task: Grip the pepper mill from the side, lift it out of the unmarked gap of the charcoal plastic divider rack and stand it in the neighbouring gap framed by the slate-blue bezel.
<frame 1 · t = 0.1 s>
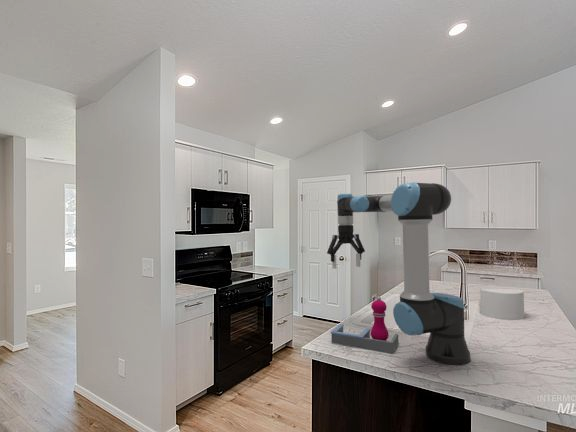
hand: (346, 267, 167), 28 cm above the worktop, tool pointing down, fingers open, 13 cm apart
divider rack: (365, 342, 141), on the worktop
pepper mill: (379, 345, 138), resting in divider rack
container: (501, 314, 177), on the worktop
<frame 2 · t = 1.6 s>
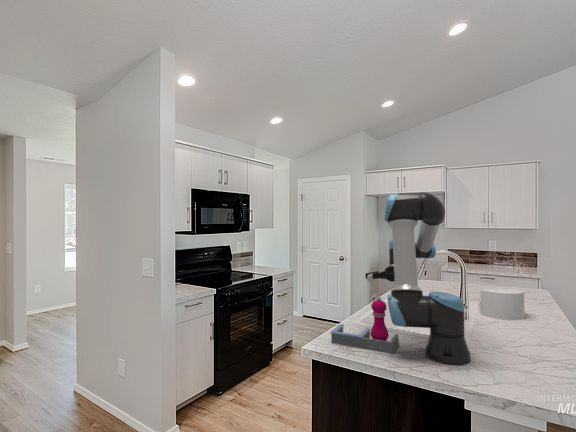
hand: (383, 280, 146), 25 cm above the worktop, tool horizontal, fingers open, 13 cm apart
nothing on the worktop moved.
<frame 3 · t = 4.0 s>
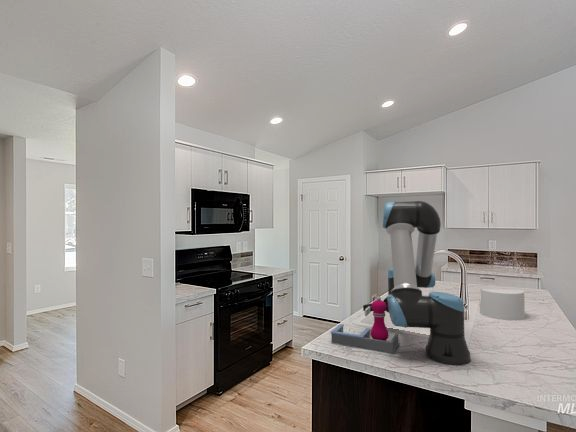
hand: (381, 315, 143), 11 cm above the worktop, tool horizontal, fingers open, 13 cm apart
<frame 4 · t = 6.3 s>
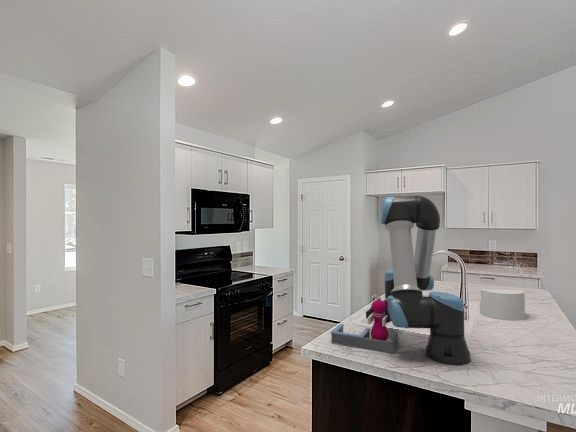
hand: (375, 321, 133), 11 cm above the worktop, tool horizontal, fingers closed on pepper mill, 5 cm apart
pepper mill: (379, 345, 138), resting in divider rack, touching gripper
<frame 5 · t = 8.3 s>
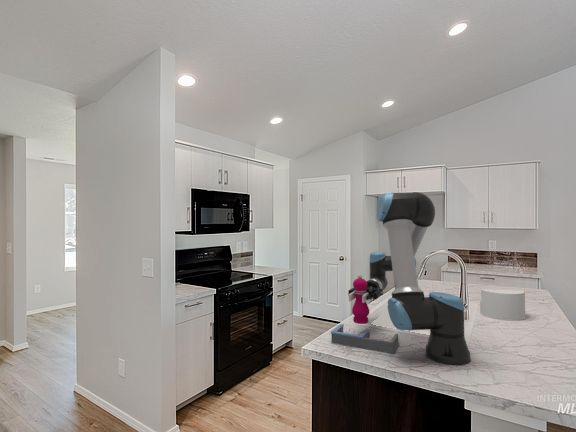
hand: (356, 298, 138), 19 cm above the worktop, tool horizontal, fingers closed on pepper mill, 5 cm apart
pepper mill: (360, 322, 143), point 8 cm above the worktop, touching gripper
when the fingers open (12 cm above the worktop, at t = 10.7 s): pepper mill stays where it is, resting in divider rack.
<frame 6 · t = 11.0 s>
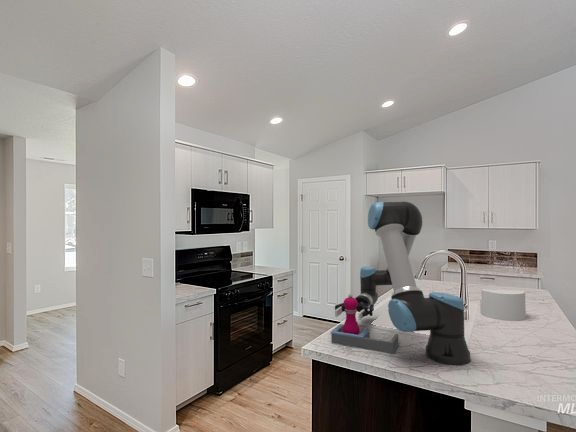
hand: (347, 315, 140), 12 cm above the worktop, tool horizontal, fingers open, 9 cm apart
pepper mill: (351, 340, 144), resting in divider rack
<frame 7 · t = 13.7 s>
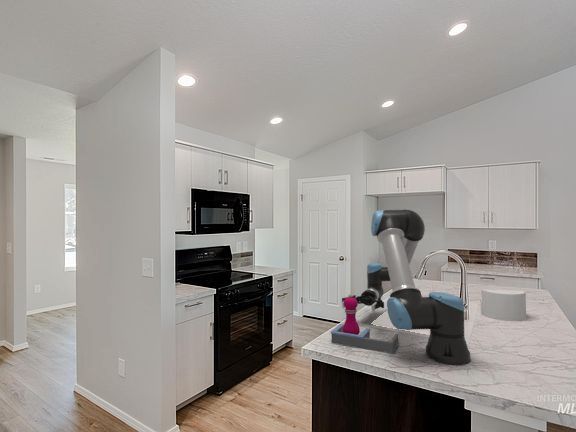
hand: (357, 306, 152), 12 cm above the worktop, tool horizontal, fingers open, 13 cm apart
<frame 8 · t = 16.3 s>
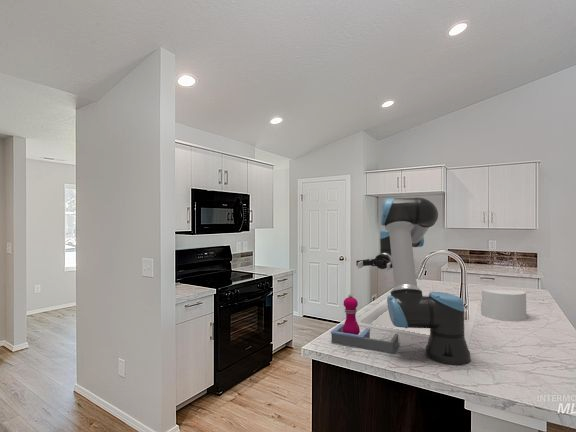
hand: (372, 266, 154), 30 cm above the worktop, tool horizontal, fingers open, 13 cm apart
at the end: pepper mill 0.1 cm from the target spot, resting in divider rack; pepper mill tilted 0°; the gripper is holding nothing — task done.
